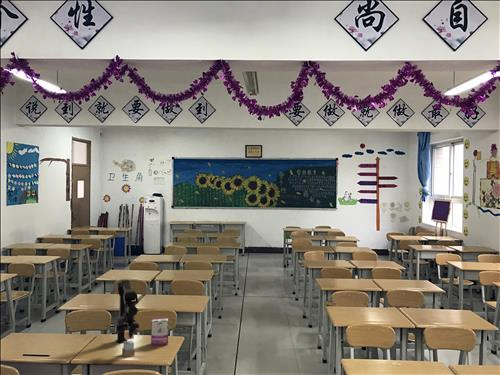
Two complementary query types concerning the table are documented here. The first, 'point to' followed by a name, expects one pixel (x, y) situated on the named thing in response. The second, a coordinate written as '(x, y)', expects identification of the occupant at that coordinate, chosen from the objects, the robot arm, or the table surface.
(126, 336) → the terracotta cube
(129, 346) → the slate block
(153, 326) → the candy bar box
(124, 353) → the walnut base block
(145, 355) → the table surface
